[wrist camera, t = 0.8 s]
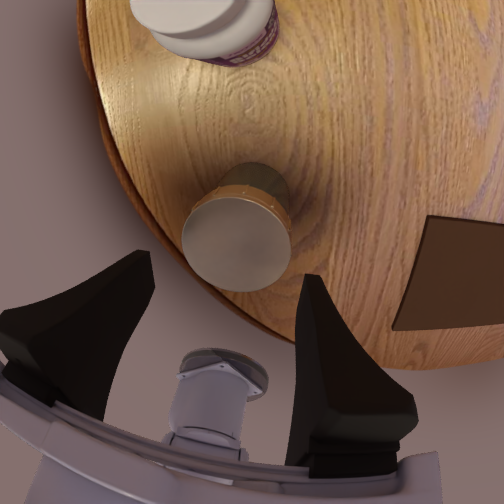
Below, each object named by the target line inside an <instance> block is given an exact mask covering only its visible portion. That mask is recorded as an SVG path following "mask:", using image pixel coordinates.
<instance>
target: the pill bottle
mask: <svg viewBox="0 0 504 504" xmlns="http://www.w3.org/2000/svg"><path fill="white" fill-rule="evenodd" d="M130 6H131V10H132V13H133V14H134V16H135V18H136V19H137V20H138V21H139V22H140V23H141V24H142V25H143V26H145V27H146V28H148V29H150V31H151V33H152V35H153V36H154V38H155V39H156V40H157V42H158V43H159V44H160V45H162V46H163V47H164V48H166V49H167V50H169V51H171V52H173V53H174V54H177V55H178V56H181V57H184V58H190V59H196V60H200V61H204V62H207V63H211V64H215V65H219V66H225V67H241V66H245V65H249V64H252V63H254V62H256V61H258V60H260V59H261V58H263V57H264V56H265V55H266V54H267V53H268V52H269V51H270V50H271V49H272V48H273V46H274V45H275V43H276V41H277V38H278V34H279V20H278V15H277V11H276V6H275V1H274V0H130Z"/></svg>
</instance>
